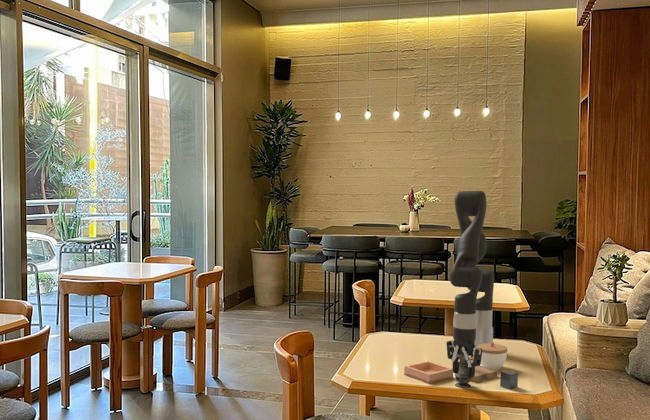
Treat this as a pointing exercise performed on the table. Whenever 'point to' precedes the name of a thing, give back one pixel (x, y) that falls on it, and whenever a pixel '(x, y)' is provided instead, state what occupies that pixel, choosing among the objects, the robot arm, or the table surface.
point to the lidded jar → (493, 355)
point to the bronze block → (483, 374)
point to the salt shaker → (462, 374)
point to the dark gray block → (509, 379)
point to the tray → (428, 371)
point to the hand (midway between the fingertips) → (463, 374)
